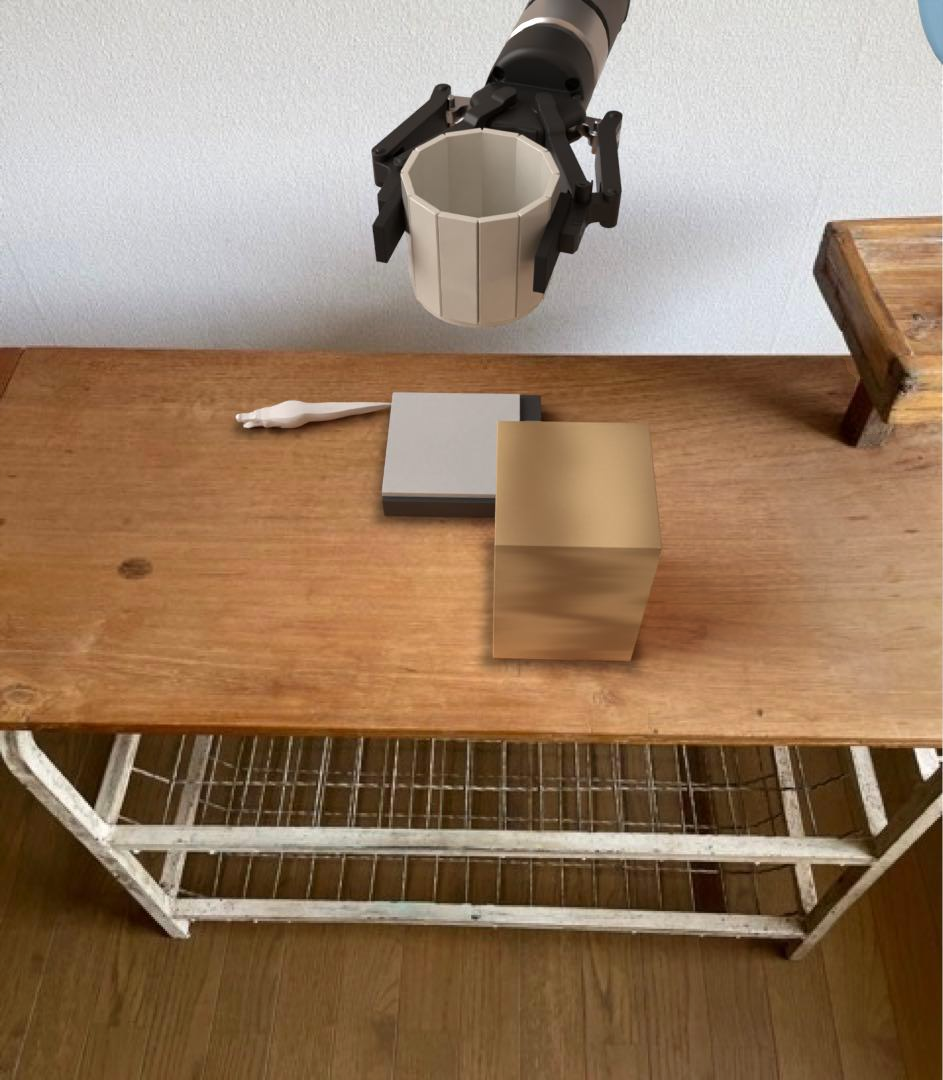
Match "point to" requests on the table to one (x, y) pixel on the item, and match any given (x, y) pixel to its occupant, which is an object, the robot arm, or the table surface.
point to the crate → (573, 539)
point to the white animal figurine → (305, 413)
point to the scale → (447, 451)
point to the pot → (477, 224)
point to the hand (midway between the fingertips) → (458, 259)
